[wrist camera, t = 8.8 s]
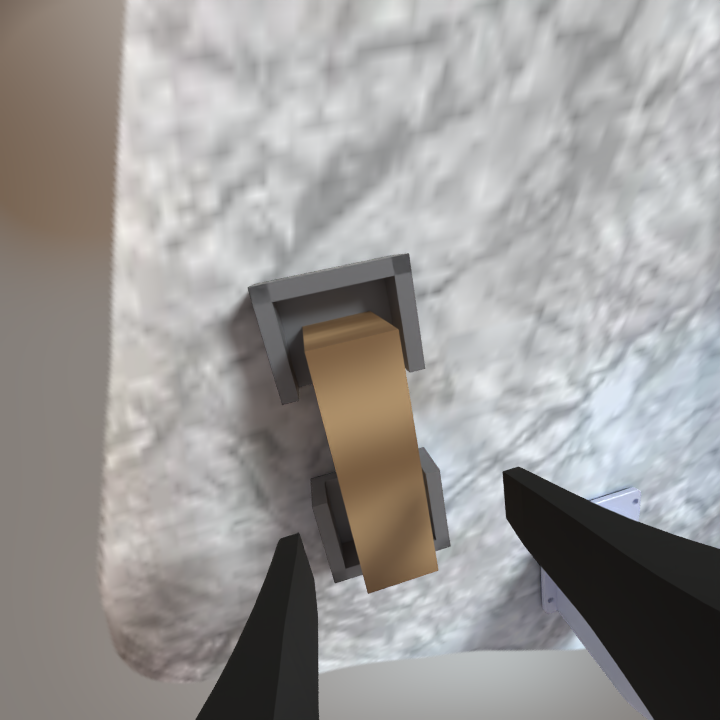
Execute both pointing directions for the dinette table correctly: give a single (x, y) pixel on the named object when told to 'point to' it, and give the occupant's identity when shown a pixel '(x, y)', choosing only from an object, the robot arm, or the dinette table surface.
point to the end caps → (290, 369)
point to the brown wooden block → (373, 444)
